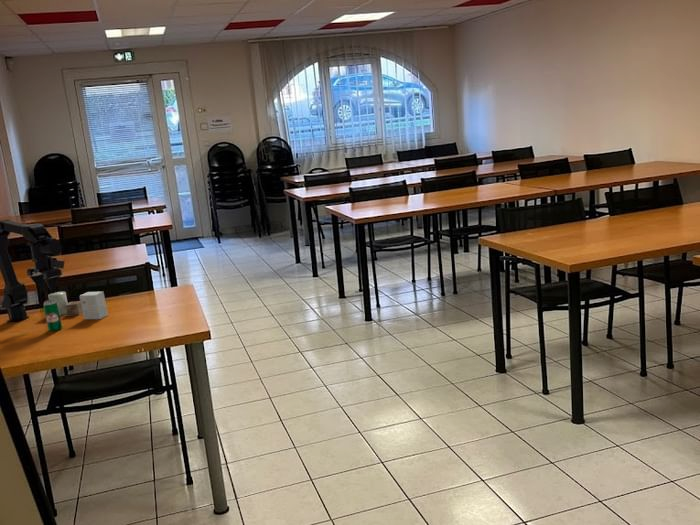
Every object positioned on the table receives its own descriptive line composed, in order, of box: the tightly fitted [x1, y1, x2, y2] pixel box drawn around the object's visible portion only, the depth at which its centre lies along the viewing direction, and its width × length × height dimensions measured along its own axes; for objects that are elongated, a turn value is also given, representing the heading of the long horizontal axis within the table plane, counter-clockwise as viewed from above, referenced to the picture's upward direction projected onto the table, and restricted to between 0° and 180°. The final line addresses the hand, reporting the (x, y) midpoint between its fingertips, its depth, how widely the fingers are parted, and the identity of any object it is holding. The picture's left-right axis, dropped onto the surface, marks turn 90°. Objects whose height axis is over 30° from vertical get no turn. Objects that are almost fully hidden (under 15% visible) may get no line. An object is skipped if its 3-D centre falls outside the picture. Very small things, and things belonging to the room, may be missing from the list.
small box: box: [79, 290, 109, 320], centre depth 273 cm, size 8×6×10 cm
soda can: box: [42, 299, 63, 332], centre depth 260 cm, size 5×5×12 cm
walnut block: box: [65, 300, 83, 317], centre depth 282 cm, size 5×5×5 cm
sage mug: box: [47, 291, 69, 317], centre depth 285 cm, size 8×7×9 cm
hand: (48, 292), depth 269 cm, fingers open, 9 cm apart
